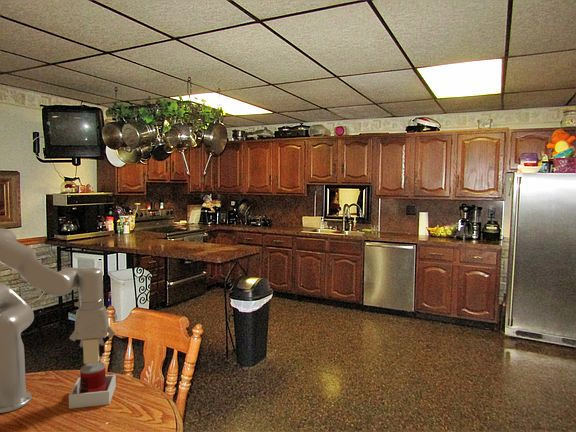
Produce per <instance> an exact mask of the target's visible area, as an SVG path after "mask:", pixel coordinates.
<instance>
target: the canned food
mask: <svg viewBox="0 0 576 432" xmlns="http://www.w3.org/2000/svg"><path fill="white" fill-rule="evenodd" d="M106 373H107V372H106V364H105V362H103V361H99V362H98V363H88V364H84V365H82V366H81V367H80V373H79V375H80V377H79V378H81V391H80V393H89V392H99V391H107V388H106Z"/></svg>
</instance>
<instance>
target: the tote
mask: <svg viewBox="0 0 576 432" xmlns="http://www.w3.org/2000/svg"><path fill="white" fill-rule="evenodd" d="M116 378H117V376H116V374H108V375H106V391H99V392H89V393H81V377H78V378H77V380H76V382H75V384H74V386H73V387H72V389H71V390H70V393H69V394H68V409H78V408H80V409H81V408H87V407H88V408H89V407H96V406H97V407H98V406H107V405H110V403H111V401H112V398H113V396H114V393H115V390H116V387H117V384H116V383H117V382H116V381H117V379H116Z"/></svg>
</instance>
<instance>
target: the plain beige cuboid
mask: <svg viewBox="0 0 576 432" xmlns="http://www.w3.org/2000/svg"><path fill="white" fill-rule="evenodd" d="M99 346H100V341H99V338H97V339H85V340H83V355H82V357H83V356H84V358H83V364H84V365H86V364H88V363H98V362H100V360H101V358H102V357H99Z"/></svg>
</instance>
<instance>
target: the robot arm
mask: <svg viewBox="0 0 576 432" xmlns="http://www.w3.org/2000/svg"><path fill="white" fill-rule="evenodd" d="M0 265H2V266H4V267H6V268H8V269H10V270H12V271H14V272H16V273H17V274H18V275H19V276H20V277H21V278H22V279H23V280H24V281H25V282H26V283H27V284H28V285H30V287H31V286H32V287H33V288H35V289H37V290H39V291H42V292H43V293H46V294H48V295H50V296H53V297H54V296H55V297H61V296H65V295H68V294H69V293H70V292H71V291H73V290H75V289H76V290H77V289H78V301H75V302H74V303H73V304H74V307H78V308H77V310H76V311H75V312H76V313H75V317H74V318H75V320H74V330H73V332H72V333H71V335H70V336H69V340H71V341H72V342H74V343H76V344H77V345H78V346H79V347H80V354H81V355H80V356H82V358H83V359H84V356H83V340H85V339H97V338H99V341H100V346H99V357H101V358H102V357H103V356H104V355H103V354H105V352H106V350H105V345H106V343H107V342H108V341H109V340H110V339H111V338H112V337H115V334H116V332H115V331H114V330H113V329H112V328H111V327H110V324H109V316H108V312H107V307H106V305H105V303H104V281H103V279H104V277H103V271H102V269H101V268H97V267H88V268H81V267H65V268H63V269H60V270H59V271H56V270H54V269H52V268H50V267H49V266H46V265H44V264H43V263H42V262H40V261H39V260H38V258H37V253H36V251H35V249H34V248H32V247H29V246H28V245H27V244H26V245H25V244H23V243H21V242H19V241H18V239H17V236H16V234H15V233H14V232H13V231H12V230H10V229H7V228H5V227H4V228H3V227H1V228H0ZM34 320H35V314H34V310H33V309H32V308H31V306H30V305H29V303H27V302H26V301H25V299H23V298H22V297H21V296H20V295H18V294H17V292H15V291H14V290H13V288H11V287H10V286H8V285H7V284H5V283H3V282H0V414H4V413H8V412H13V411H15V410H19V409H20V408H22V407H24V406H25V405H27V404H28V403H30V401H31V400H32V393H31V392H29V391H27V387H26V361H25V360H26V359H25V345H24V343H23V339H22V336H21V335H22V332H23V331H25V330H27V328H29V327H30V326H31V325H32V323H33V322H34Z"/></svg>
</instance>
